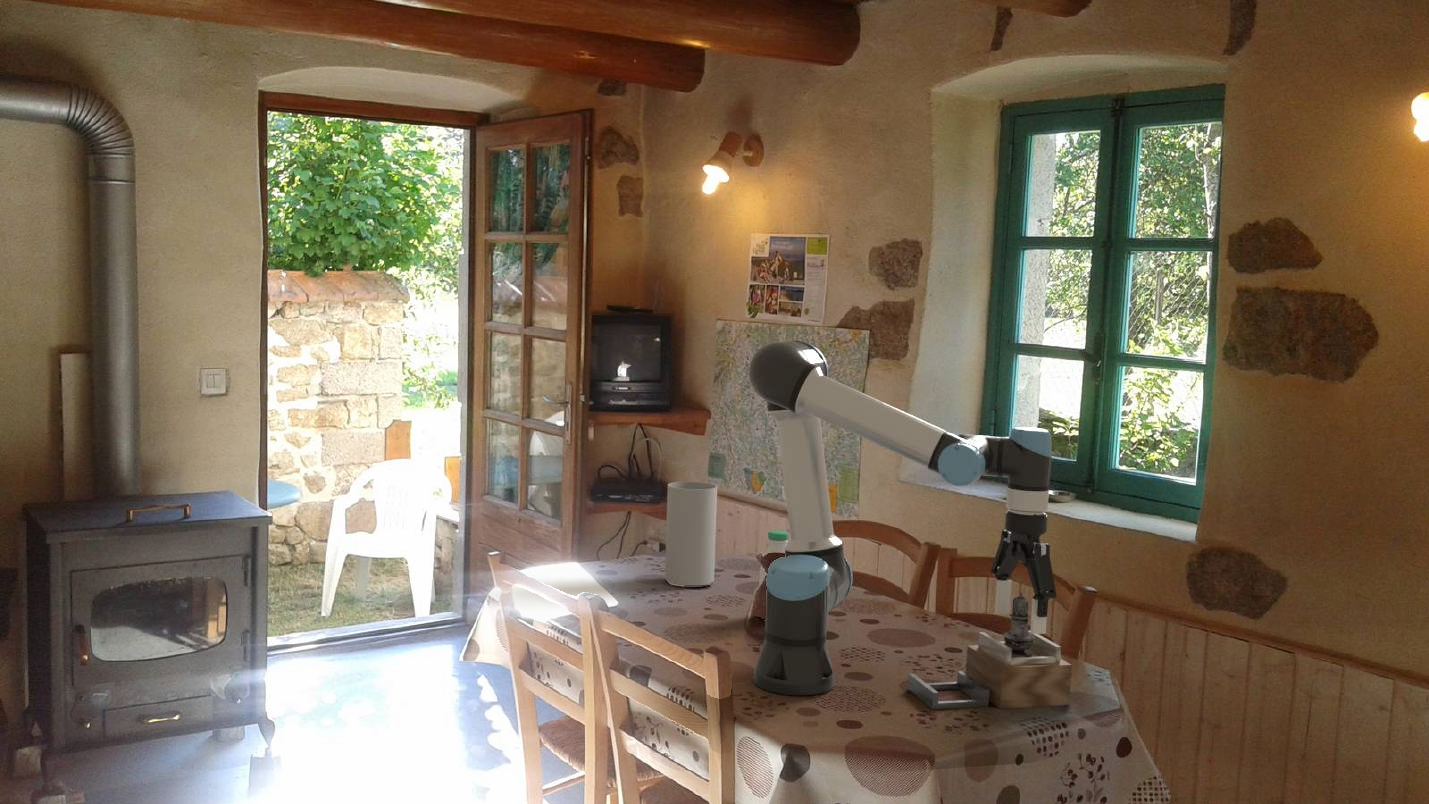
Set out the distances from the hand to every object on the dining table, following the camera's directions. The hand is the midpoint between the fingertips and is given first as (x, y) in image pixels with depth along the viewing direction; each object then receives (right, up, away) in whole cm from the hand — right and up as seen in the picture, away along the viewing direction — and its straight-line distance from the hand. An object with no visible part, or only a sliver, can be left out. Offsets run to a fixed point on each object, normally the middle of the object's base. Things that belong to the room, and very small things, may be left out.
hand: (1019, 623), depth 223 cm
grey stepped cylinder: (0, -6, +1) cm, 6 cm away
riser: (0, -14, +1) cm, 14 cm away
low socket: (-14, -13, -2) cm, 19 cm away
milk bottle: (-43, -8, +49) cm, 66 cm away
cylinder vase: (-63, -5, +80) cm, 102 cm away
